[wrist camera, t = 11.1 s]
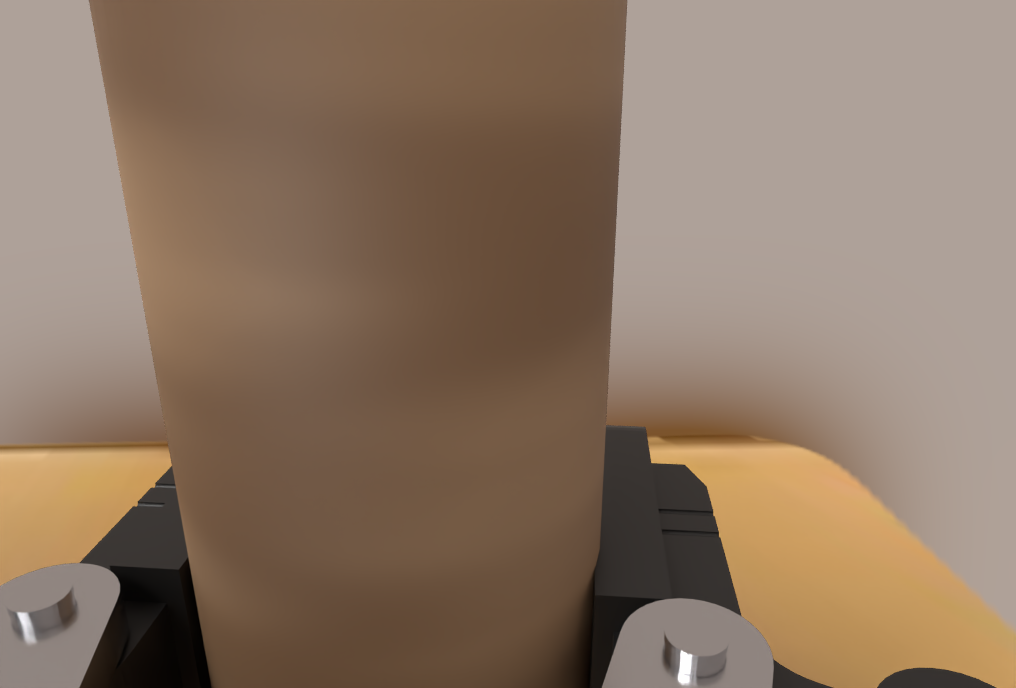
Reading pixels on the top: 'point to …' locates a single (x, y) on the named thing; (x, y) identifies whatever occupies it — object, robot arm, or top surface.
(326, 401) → the peg
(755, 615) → the top surface
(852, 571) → the top surface
